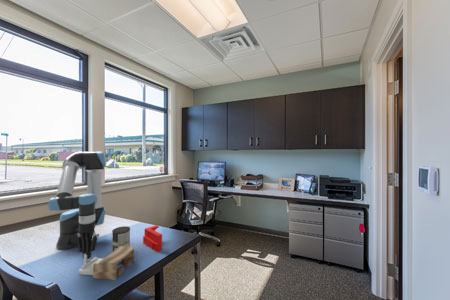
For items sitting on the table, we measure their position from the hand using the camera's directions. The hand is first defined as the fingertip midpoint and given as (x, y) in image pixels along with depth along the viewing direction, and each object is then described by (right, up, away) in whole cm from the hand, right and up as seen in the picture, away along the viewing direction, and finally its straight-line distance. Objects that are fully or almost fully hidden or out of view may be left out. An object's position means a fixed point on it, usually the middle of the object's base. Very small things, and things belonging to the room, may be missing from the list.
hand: (86, 264), depth 110 cm
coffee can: (+10, -2, +18) cm, 21 cm away
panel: (+7, -2, -1) cm, 7 cm away
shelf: (+17, -2, -2) cm, 17 cm away
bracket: (+30, -2, +26) cm, 40 cm away
